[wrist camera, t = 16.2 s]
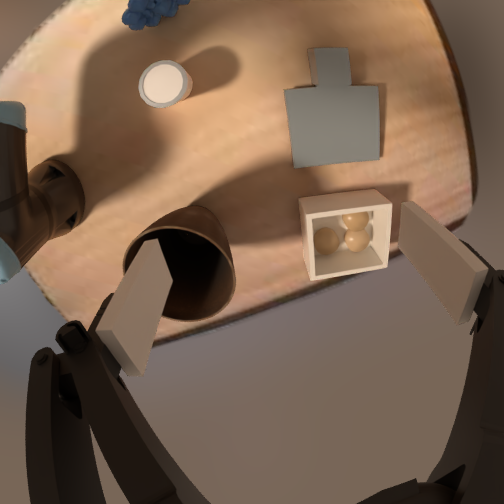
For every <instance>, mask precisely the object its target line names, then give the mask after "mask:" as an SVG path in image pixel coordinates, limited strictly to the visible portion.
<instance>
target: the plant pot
mask: <svg viewBox="0 0 504 504" xmlns="http://www.w3.org/2000/svg"><path fill="white" fill-rule="evenodd" d="M185 233H187V234H188V235H185ZM153 239H158V242H159V245H160V248H161V250H162V253H163V256H164V259H165V261H166V264H167V267H168V270H169V272H170V275H171V277H172V280H173V282H172V284H171V287H170V290H169V293H168V296H167V299H166V302H165V305H164V309H163V312H162V315H161V317H163V318H166V319H170V320H174V321H181V322H194V321H201V320H205V319H208V318H210V317H213V316H215V315H216V314H218V313H219V312H221V311H222V310H223V309H224V308H225V307H226V306H227V305H228V304H229V302H230V301H231V299H232V297H233V294H234V291H235V286H236V277H235V270H234V265H233V259H232V254H231V250H230V247H229V243H228V240H227V237H226V235H225V233H224V230H223V228H222V226H221V225H220V223H219V221H218V220H217V218H216V217H215V216H214V215H213V213H212V212H210V211H209V210H208V209H206V208H204V207H200V206H189V207H184V208H181V209H178V210H175V211H173V212H171V213H169V214H167V215H165V216H163V217H162V218H160V219H158V220H157V221H156V222H154V223H153V224H151V225H150V226H149V227H148V228H146V229H145V230H144V231H143V232H142V233H141V234H139V235H138V236H137V237H136V238H135V239H134V240H133V241H132V242H131V243H130V245H129V246H128V248H127V250H126V252H125V255H124V259H123V275H125V273H126V272H127V270H128V268H129V266H130V265H131V263H132V261H133V260H134V258H135V256H136V255H137V253H138V251H139V250H140V248H141V246H142V245H143V243H144V241H148V240H153Z"/></svg>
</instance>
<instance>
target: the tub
mask: <svg viewBox="0 0 504 504" xmlns="http://www.w3.org/2000/svg"><path fill="white" fill-rule="evenodd" d="M298 202H299V211H300V222H301V232H302V244H303V256H304V261H305V264H306V267H307V270H308V273H309V277H310V280H311V281H312V280H318V279H324V278H330V277H336V276H342V275H348V274H354V273H359V272H365V271H370V270H376V269H381V268H386V267H387V263H388V254H389V244H390V233H391V218H392V203H391V202H390V201H389V200H388V199H387V198H385V197H384V196H383V195H382V194H381V193H379V192H378V191H377V190H376V189H367V190H358V191H349V192H341V193H333V194H325V195H317V196H309V197H302V198H298Z"/></svg>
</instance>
